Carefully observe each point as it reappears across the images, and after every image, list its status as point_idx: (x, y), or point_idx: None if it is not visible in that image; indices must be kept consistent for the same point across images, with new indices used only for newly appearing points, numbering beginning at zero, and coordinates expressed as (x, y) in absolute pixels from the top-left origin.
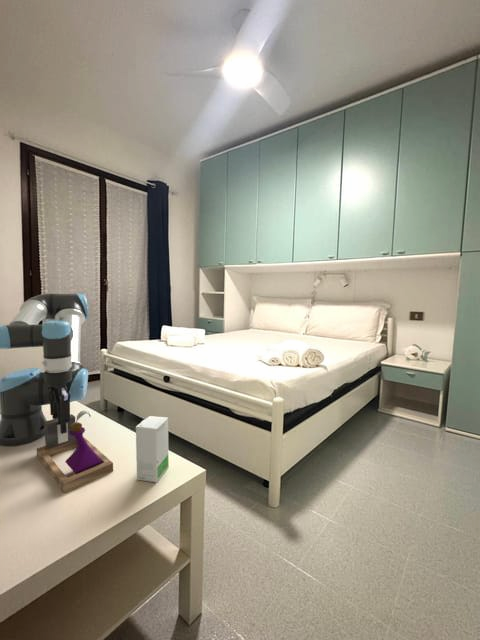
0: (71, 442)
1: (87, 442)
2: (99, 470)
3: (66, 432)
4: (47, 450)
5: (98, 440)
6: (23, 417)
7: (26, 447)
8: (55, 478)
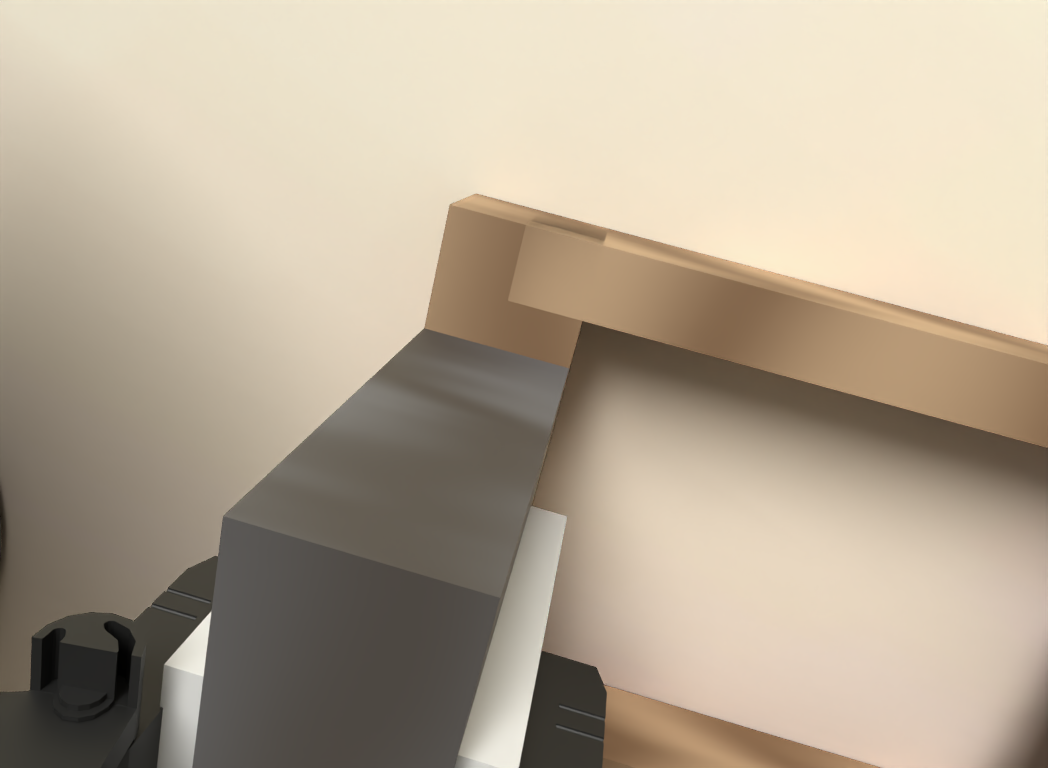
0: (553, 425)
1: (825, 336)
2: None
3: (594, 667)
4: None
5: (709, 21)
6: None
7: (94, 602)
8: None
